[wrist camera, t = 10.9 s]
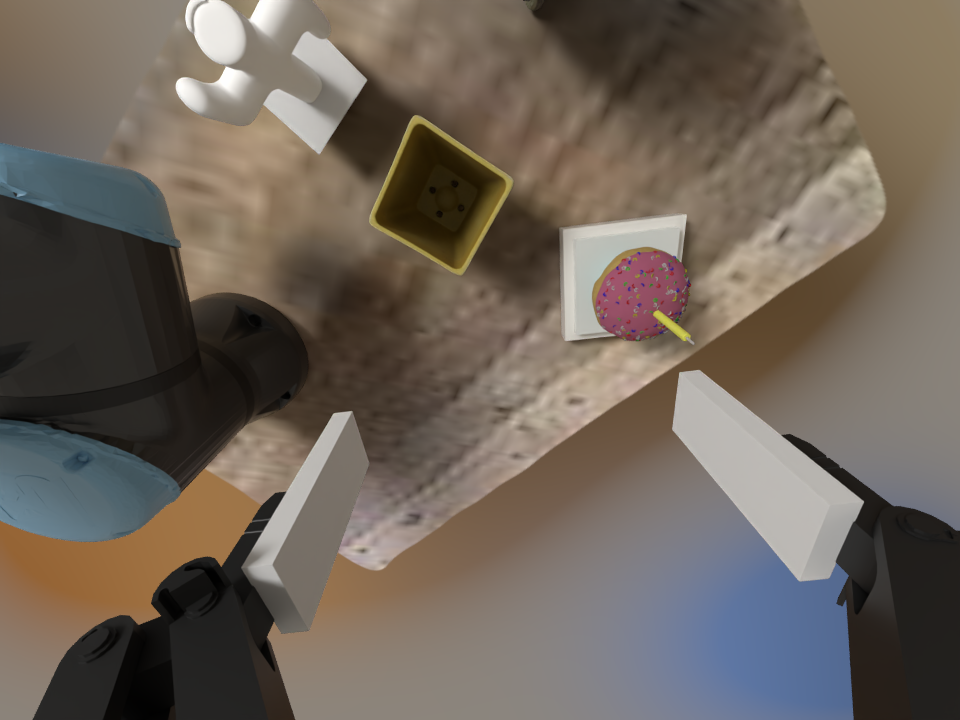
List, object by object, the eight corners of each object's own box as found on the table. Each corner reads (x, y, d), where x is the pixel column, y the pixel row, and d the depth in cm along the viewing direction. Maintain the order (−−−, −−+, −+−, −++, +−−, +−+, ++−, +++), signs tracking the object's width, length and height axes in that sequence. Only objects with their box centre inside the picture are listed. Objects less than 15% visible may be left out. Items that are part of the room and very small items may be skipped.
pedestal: (561, 334, 43) (567, 344, 40) (559, 227, 38) (565, 230, 35) (665, 323, 42) (677, 332, 40) (676, 213, 37) (692, 215, 35)
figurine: (385, 79, 33) (319, 2, 19) (328, 167, 36) (234, 154, 22) (315, 7, 30) (185, -138, 17) (260, 107, 33) (110, 51, 20)
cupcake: (680, 288, 38) (761, 329, 27) (610, 339, 40) (659, 395, 29) (635, 222, 35) (706, 237, 24) (563, 281, 37) (598, 319, 26)
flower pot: (508, 182, 36) (517, 180, 28) (465, 260, 39) (461, 278, 31) (429, 129, 34) (413, 111, 26) (390, 215, 37) (366, 223, 29)
